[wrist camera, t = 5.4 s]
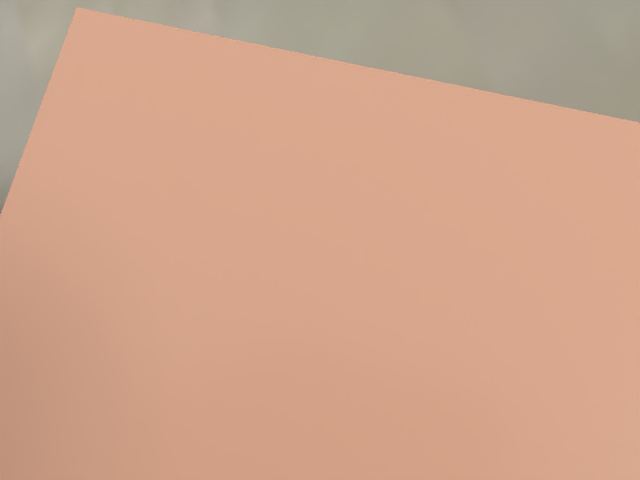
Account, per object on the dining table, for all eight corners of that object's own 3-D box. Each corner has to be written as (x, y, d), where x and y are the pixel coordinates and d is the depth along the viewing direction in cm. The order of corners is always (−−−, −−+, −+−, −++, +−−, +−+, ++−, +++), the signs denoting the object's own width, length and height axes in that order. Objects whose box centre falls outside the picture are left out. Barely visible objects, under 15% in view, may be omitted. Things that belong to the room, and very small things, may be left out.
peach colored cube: (495, 612, 12) (709, 1259, 3) (190, 502, 13) (-208, 779, 5) (569, 291, 12) (885, 172, 4) (277, 215, 14) (76, 7, 5)
